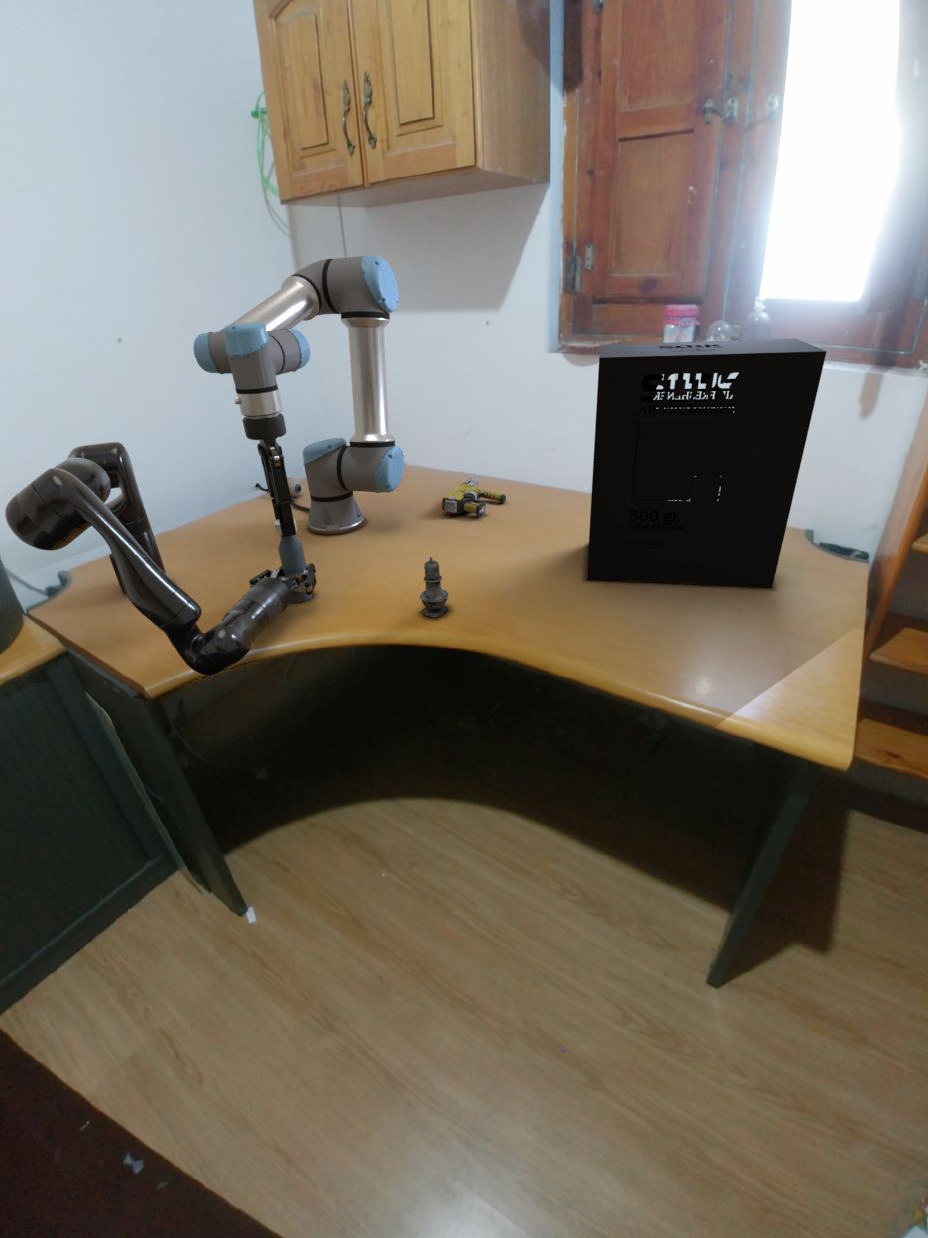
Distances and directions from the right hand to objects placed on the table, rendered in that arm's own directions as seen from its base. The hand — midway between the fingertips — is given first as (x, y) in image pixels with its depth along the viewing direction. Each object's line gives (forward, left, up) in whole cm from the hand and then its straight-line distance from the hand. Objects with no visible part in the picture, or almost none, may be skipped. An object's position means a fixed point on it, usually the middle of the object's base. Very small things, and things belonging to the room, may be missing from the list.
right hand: (287, 531), depth 125 cm
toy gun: (-20, +65, -15) cm, 69 cm away
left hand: (-2, +2, -9) cm, 10 cm away
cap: (0, 0, +2) cm, 2 cm away
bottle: (0, 0, -15) cm, 15 cm away
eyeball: (-68, +27, -15) cm, 75 cm away
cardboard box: (+43, +72, -15) cm, 85 cm away
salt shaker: (+25, +19, -15) cm, 35 cm away
